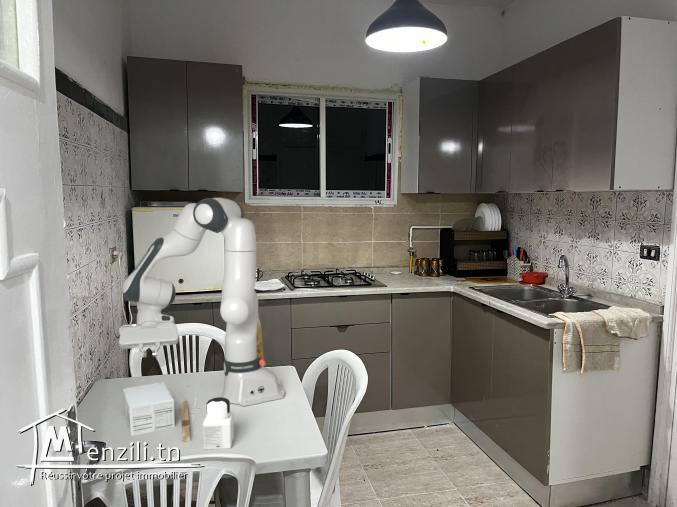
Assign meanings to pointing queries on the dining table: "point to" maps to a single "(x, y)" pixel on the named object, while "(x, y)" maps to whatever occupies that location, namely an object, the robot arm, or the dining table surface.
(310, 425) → the dining table surface
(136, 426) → the supplement box
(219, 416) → the container
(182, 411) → the guide rail
